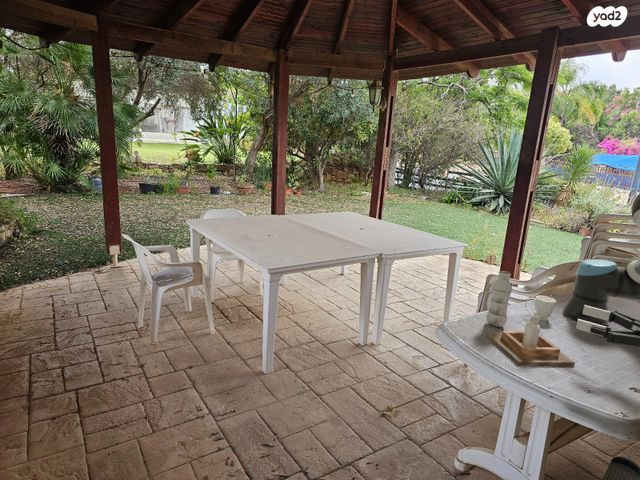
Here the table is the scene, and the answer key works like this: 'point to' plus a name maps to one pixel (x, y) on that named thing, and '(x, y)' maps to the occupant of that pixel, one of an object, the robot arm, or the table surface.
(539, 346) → the collar board
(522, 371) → the table surface
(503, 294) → the plastic bottle
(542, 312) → the cup
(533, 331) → the eye dropper bottle
